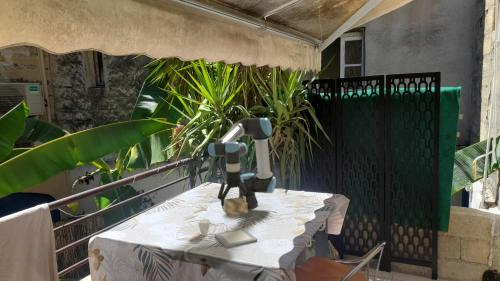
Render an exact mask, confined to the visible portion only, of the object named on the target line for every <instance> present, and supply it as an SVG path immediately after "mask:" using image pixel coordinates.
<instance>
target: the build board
mask: <svg viewBox="0 0 500 281" xmlns="http://www.w3.org/2000/svg"><path fill="white" fill-rule="evenodd" d="M214 237H215V238H216V239H217V240H218V241H219V242H220V243H221V244H222V245H223V246H224V247H225V248H226V249H229V248H233V247H234V248H235V247H237V246H242V245H247V244H252V243H256V242H258V238H257V237H255V236H254V235H253V234H252V233H250V232H249V231H248V230H246V229H245V228H239V229H233V230H228V231H224V232H219V233H214Z"/></svg>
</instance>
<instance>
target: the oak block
mask: <svg viewBox="0 0 500 281" xmlns="http://www.w3.org/2000/svg"><path fill="white" fill-rule="evenodd" d="M225 200H226V212H225V213H226V215H227V216H235V215H241V214H247V213H249V209H248V204H247V203H246V202H245V201H244V200H243V199H242V198H240V197H239V196H238V197H234V198H232V197H231V198H225ZM221 209H222V210H223V206H222V205H221Z"/></svg>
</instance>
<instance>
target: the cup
mask: <svg viewBox="0 0 500 281" xmlns="http://www.w3.org/2000/svg"><path fill="white" fill-rule="evenodd" d="M197 223H198V228H199V232H200V235H201V236H208V235H211V234H212V233H214V232H215V230H216V228H217V226H216V224H215V222H214V221H211V220H210V219H209V218H202V219H199V220H198V221H197ZM211 224H213V226H214V229H213V230H212V231H211V232H210V228H211V227H210V225H211Z"/></svg>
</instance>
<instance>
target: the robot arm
mask: <svg viewBox="0 0 500 281" xmlns="http://www.w3.org/2000/svg"><path fill="white" fill-rule="evenodd" d="M272 129H273V128H272V122H271V120H270V119H269V118H267V117H246V118H242V119H240V120H237V121H236V122H235V123H234V124H232V125H231V126H230V129H229V130H228V131H227V132H226V133H225V134H224V135H222V137H221V138H220V139H219V140H218V141H217V142H211V143H209V145H208V147H207V152H208V154H209V156H212V157H225V167H226V168H225V169H226V180H224V181H223V180H221V181H220V188H219V192H218V195H217V199H218V200H220V205H221V207H222V206H223V209H222V211H223V212H224V213H226V200H225V199H226V197H227V195H228V194H229V192H230V190H231V189H234V188H238V198H239V197H240V198H242V199H243V200H244V201H245V202H246V203H247V204H248V210H249V209H250V210H252V209H256V208H257V207H258V206H259V203H258V202H259V201H258V198H257V196H256V193H259V194H260V193H261V194H272V193H274V192H275V188H276V184H277V178H276V176H274V175H273V172H272V171H271V166H270V152H269V144H268V143H269V141H268V140H269V139H270V136H271V135H272V133H273V131H272ZM243 136H251V139H252V140H253V141H254V145H255V147H254V148H255V156H256V165H257V166H256V167H257V173H256V174H255V173H253V172H250V173H249V172H248V173H243V174H241V171H240V170H241V157H243V156H245V155H246V154H247V153H248V149H249V148H248V145H247V143H244V142H238V141H237V140H239V138H242V137H243Z"/></svg>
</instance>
